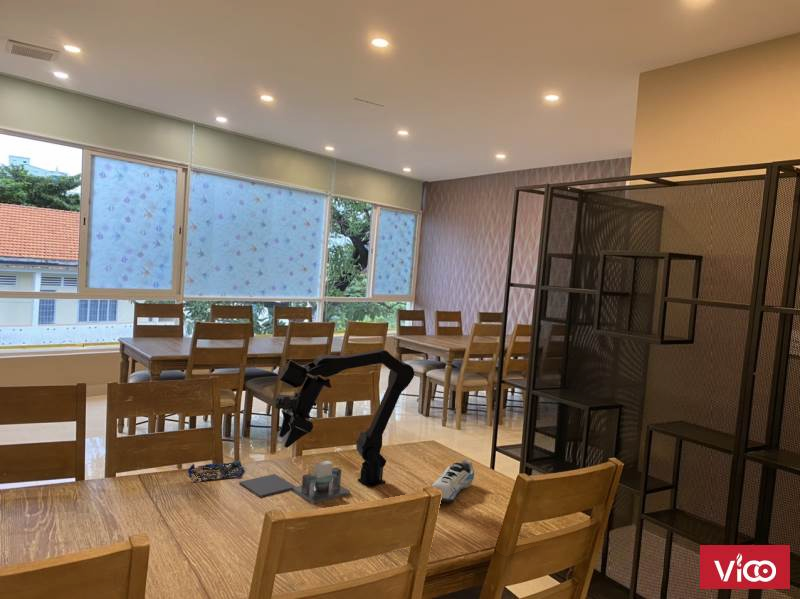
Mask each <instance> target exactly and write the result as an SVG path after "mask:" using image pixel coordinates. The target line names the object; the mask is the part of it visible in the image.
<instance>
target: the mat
mask: <svg viewBox="0 0 800 599" xmlns="http://www.w3.org/2000/svg"><path fill="white" fill-rule="evenodd" d="M239 485H240V486H242V487H243V488H244V489H246V490H248V491H249V492H251V493H252V494H254V495H256V496H257V497H258V498H264V497H269V496H272V495H275V494H276V495H277V494H281V493H283V492H288V491H292V488H293V487H297V486H296V485H295V484H293V483H291V482H289V481H287V480H286V479H283V477H280V476H279V475H278V474H275V473H273V474H268V475H264V476H260V477H255V478H249V479H245V480H241V481H239Z"/></svg>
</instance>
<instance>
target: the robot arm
mask: <svg viewBox="0 0 800 599" xmlns="http://www.w3.org/2000/svg"><path fill="white" fill-rule="evenodd" d="M378 364H379V365H380V364H383V366H384V367H386V368H387V369H388V370H389V373H388V378H387V380H388V381H387V387H386V390H385V392H384V394H383V397H382V399H381V401H380V403H379V406H378V408H377V410H376V412H375V415H374V417H373V418H372V421H371V424H370V426H369V427H368V429H367V430H365V431H363V430H360V432H359V437H358V439H356V441H355V443H356V446H355V447H356V451H357V454H359V455H360V457H361V458H362V459H363V462H362V464H361V467H360V478H357V481H358V482H359V483H362V484H363V485H366V486H367V487H370V488H374V487H376V486H379V485H383V484H386V480H384V479H383V476H384V475H383V474H384V467H385V466H386V463H387V459H386V458H385V457H383V455H382V454H381V451H382V446H383V435H384V433H385V430H386V428H387V425H388V424H389V421H390V418H391V416H392V413H394V410H395V407H396V405H397V403H398V400H399V398H400V396H401V393H402V392H403V391H405V390H406V388H407V387H409V385H410V383H412V380H413V378H414V377H415V369H414V368H413V366H411V365H410V364H408V363H406V362H405V361H401V360H399V359H397V358H396V357H394V356H393V355H392V354H391V353H390V352H389V351H388V350H386V349H383V348H379V349H375V350H369V351H364V352H363V351H362V352H357V353H353V354H346V355H345V354H344V355H337V354H336V355H335V354H320V355H319V354H318V355H317V356H316V357H315V358H314V360H313V361H311V362H309V363H307V364H304V365H301V364H299V363H297V362H295V361H294V360H292V359H289V360H288V362H287V363H286V364H285V365H284V367H282V368H281V371H280V373H279V374H278V377H277V378H278V379H277V381H280V382H282V383H284V384H286V385H288V386H290V387H292V388H294V389H297V388H300V387H301V388H300V390H299V391H296V392H294V394H293V395H288V394H277V393H276V394H275V395H274V400H273V406H274V408H275V409H276V410H280V412H281V414H282V417H283V418H282V424H281V426H280V431H279V433H278V434H279V435H278V436H279V437H280V438H283V437H285V436H286V435H287V438H286V440H285V442H284V445H283V447H284V448H289V447H290V446H292V445H293V444H294V443H296V442H297V441H298V440H300V439H301V438H302V437H304V436H305V435H308V434H309V433H311V432H312V430H313V429H314V424H313V422H312V421H311V419H310V418H311V415H310V413H311V411H312V409H313V408H314V407H316V406H317V404H318V403H317V400H318V398H319V396H320V394H321V392H322V391H323V389H324V387H327V388H329V389H331V388H332V385H331V380H330V378H329V377H332V376H334V375H336V374H339V373H341V372H343V371H346V370H348V369H349V370H350V369H354V368H355V369H356V368H361V367H367V366H373V365H378Z"/></svg>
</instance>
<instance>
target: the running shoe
mask: <svg viewBox="0 0 800 599" xmlns="http://www.w3.org/2000/svg"><path fill="white" fill-rule="evenodd" d="M474 478H475V469H474V466H473V463H472V461H470V460H468V459H465V458H464V459H463V460H462V461H460V462H455V463H453V464H452V465H448V466H447V467H446V468H445V470H444V471H443V472H442V474H441V475H440V476H439V477H438V478H437V480H436V481H435V482H433V483H432V485H430V486H434V487H436V488H438V489H439V490H441V491H442V500H441V501H440V502H445V503H447V502H448V503H453V502H454V501H455V499H456V496H457V495H458V493H459V492H460V490H462V489H467V488H470V486H472V483H473V481H474Z"/></svg>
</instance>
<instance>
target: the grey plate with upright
mask: <svg viewBox="0 0 800 599" xmlns="http://www.w3.org/2000/svg"><path fill="white" fill-rule="evenodd" d="M332 473H334V474H336V473H337V477H334V478H332V481H331V482H328V483H317V482H314V483H310V480H312V479H315V476H313V475H312V474H311V473H307V474H303V475H302V480H301V485H299V486H296V487H293V488H292V490H291V492H293V493H294V494H296V495H297V496H299V497H301V498H302V499H304V500H306V501H307V502H309V503H311V504H313V505H316V504H320V503H323V502H327V501H330V500H333V499H337V498H340V497H345V496H348V495H351V490H349V489H347V488H346V487H344V486H342V485H341V481H342V480H341V478H342V469H340V468H339V467H332Z"/></svg>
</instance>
